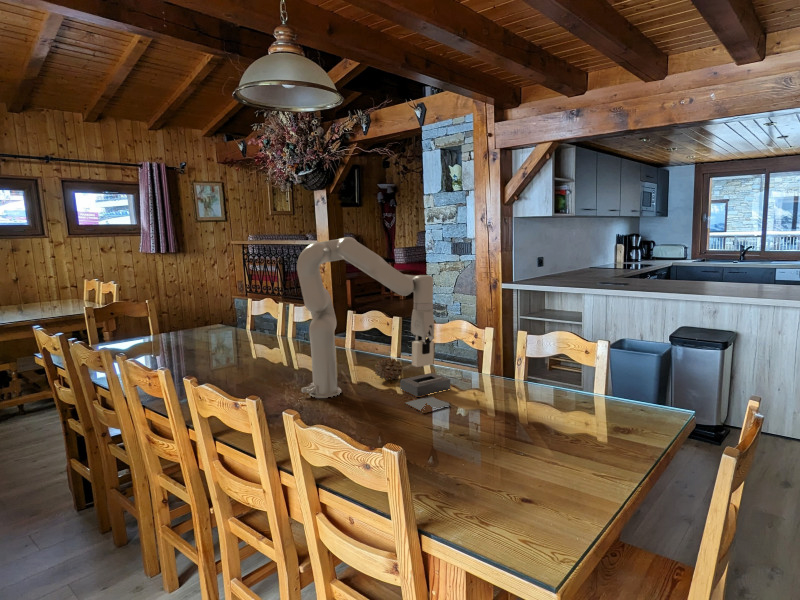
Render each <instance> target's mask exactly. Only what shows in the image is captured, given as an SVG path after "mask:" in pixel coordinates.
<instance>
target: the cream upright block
mask: <svg viewBox="0 0 800 600" xmlns="http://www.w3.org/2000/svg"><path fill="white" fill-rule="evenodd" d="M422 344H424V343H423V340H420V341H415V340H414V341H411V364H412V365H413V366H414V367H415V368H419V367H425V366H431V365H434V356H435V355H434V354H435V353H434V351H435V349H434V347H435V346H434V345H435V341H434V340H432V341H431V343H430V353H428V354H422Z"/></svg>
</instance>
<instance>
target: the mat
mask: <svg viewBox="0 0 800 600" xmlns="http://www.w3.org/2000/svg"><path fill="white" fill-rule="evenodd" d="M404 403H406V404H408V405H410V406H412V407H414V408H416V409H418V410H420V411H421V409H422V408H423V407H424V406H426V405H425V404H426V403H427V405H430V406H431V407H432V408H433V407H436V408H441V407H445V406H450V407H451V404H450V403H447V402H445V401H443V400H440V399H438V398H436V397H433V396H432V395H429V396H425V397H421V398H416V399H414V400H413V399H412V400H410V401H406V402H404ZM424 408H425V407H424ZM424 408H423V409H424ZM436 408H433V409H436ZM424 410H425V409H424ZM422 412H423V411H422Z"/></svg>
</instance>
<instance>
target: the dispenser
mask: <svg viewBox="0 0 800 600" xmlns="http://www.w3.org/2000/svg"><path fill="white" fill-rule="evenodd" d="M399 382H400V384H399V385H400V390H401V389H402V390H404V391H406V392H409V393H411V394H413V395H415V396H417V397H418V396H422V395H426V394H430V393H434V392H439V391H443V390H448V389H450V390H451V378H448V377H445V376H443V375H440V374H437V373H435V372H430V373H425V374H421V375H416V376H410V377H406V378H401V379H399Z"/></svg>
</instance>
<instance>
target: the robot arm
mask: <svg viewBox="0 0 800 600" xmlns="http://www.w3.org/2000/svg"><path fill="white" fill-rule="evenodd" d="M340 260H341V261H342V260H344V261H346V262H348V263H349V264H350V265H353V266H354V267H355V268H358V270H360V271H361V272H363V273H364V274H366V275H368V276H369V277H371V278H372V279H374V280H376V281H377V282H379V283H380V284H381V285H383V286H384V287H386V288H388V289H389V290H390V291H392V292H393V293H396V294H397V295H399V296H403V297H406V296H409V295H411V293H413V309H412V312H411V321H410V333H411V334H412V335H413V336H414V339H415V340H414V341H420V340H423V343H424V344H422V354H428V353H430V343H431V341H434V339H435V335H434V334H435V317H434V309H433V307H434V305H433V304H434V299H433V298H434V278H433V277H432V276H431V275H426V274H419V275H413V274H404V273H402V272H401V271H399V270H397V268H394V267H393V266H392V265H390V264H389V263H388V262H387V261H386V260H385V259H384V258H383V257H382V256H380V255H379V254H377V253H376V252H375V251H373V250H371V249H369V248H368V247H366V246H365V245H363V244H362V243H360V242H358V241H357V240H356V239H355V238H354V237H351V236H346V237H340V238H338V239H330V240H325V241H318V242H313V243H310V244H309V245H307V246H306V247H305V248H304V249H303V250H302V251H301V252H300V254H299V255H298V259H297V263H296V272H297V277H298V281H299V285H300V289H301V295H302V299H303V303H304V307H305V308H306V310H307V311H309V312H310V315H311V318H312V320H311V321H310V324H309V327H308V328H309V329H308V335H309V341H310V342H309V343H310V355H311V371H312V373H311V374H312V382H310V385H308V386H304V387H301V389H300V392H301V393H307V394H309V396H310V397H311V396H312V398H314V397H315V398H314V399H329V398H328V397H331V398H334V397H333V396H335V397H338V396H340V393H341V394H342V388H340V387H339V386H338V374H337V373H338V372H337V370H338V369H337V352H336V343H335V342H336V338H335V330H336V328H337V325H338V324H337V317H336V313H335V309H334V305H333V301H332V296H331V294H330V292H329V291H328V289H326V288H325V287H324V284H323V279H322V274H321V272H320V267H321V265H323V264H326V263H330V262H337V261H340ZM337 395H338V396H337Z"/></svg>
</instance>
